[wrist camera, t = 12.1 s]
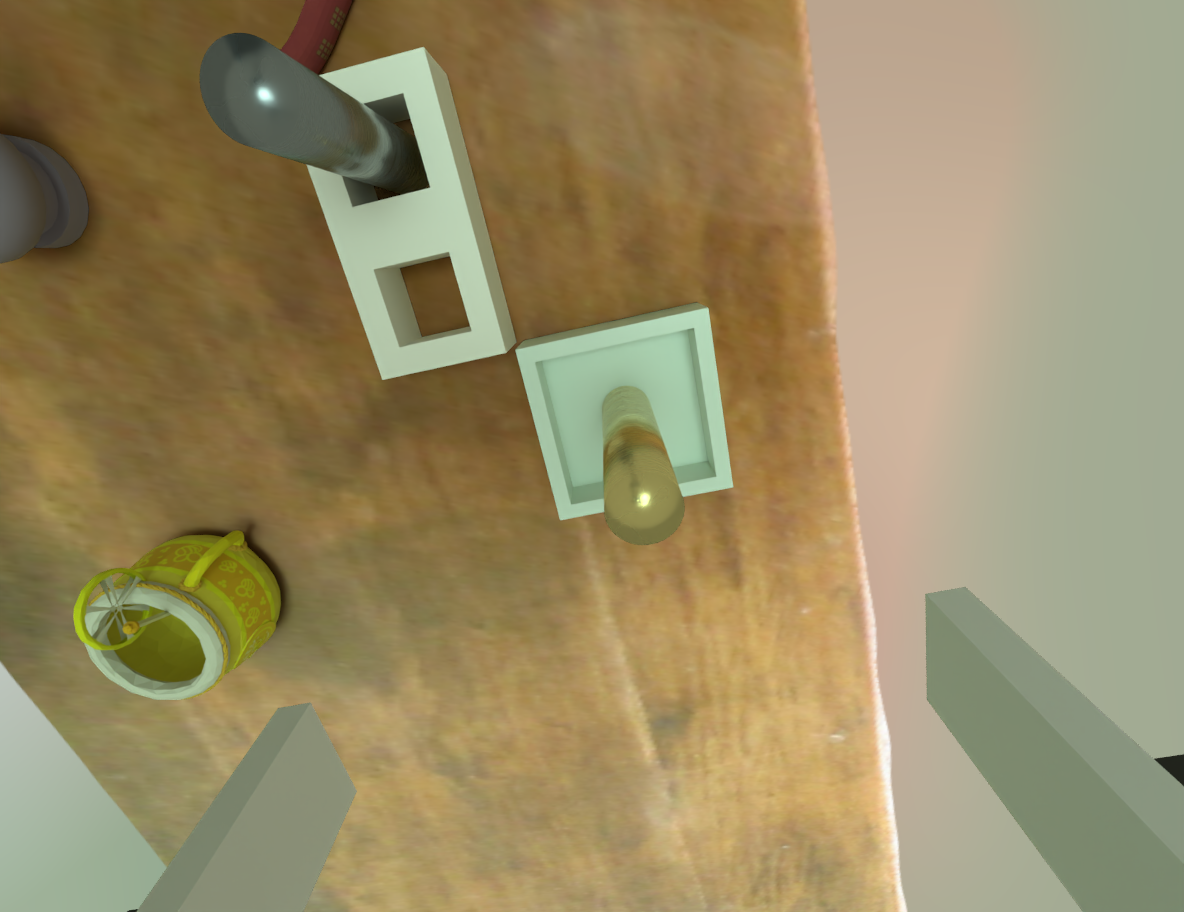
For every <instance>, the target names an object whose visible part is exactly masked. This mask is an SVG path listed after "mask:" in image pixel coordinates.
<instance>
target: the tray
mask: <svg viewBox="0 0 1184 912" xmlns="http://www.w3.org/2000/svg"><path fill="white" fill-rule="evenodd" d="M515 351H516V354H517V358H518V362H519V366H520V370H521V373H522V377H523V381H524V385H525V389H526V392H527V396H528V400H529V404H530V408H531V411H532V415H533V419H534V423H535V427H536V430H537V434H538V438H539V442H540V445H541V449H542V453H543V457H544V461H545V464H546V468H547V472H548V476H549V480H550V483H551V487H552V491H553V495H554V499H555V502H556V506H557V510H558V514H559V518H560V520H564V519H569V518H575V517H580V516H585V515H590V514H596V513H601V512H604V481H603V431H602V405H603V402H604V399H605V398H606V396H607V395H608V394H609V393H610V392H611V391H612V390H613V389H615V388H617V387H620V386H633V387H636V388H638V389H640V390H642V391H643V392H644V393H645V394H646V396H647V397H648V399H649V401H650V404H651V407H652V410H653V413H654V416H655V419H656V421H657V424H658V427H659V430H660V433H661V436H662V439H663V442H664V444H665V447H666V450H667V453H668V456H669V459H670V462H671V465H672V467H673V470H674V473H675V476H676V479H677V482H678V485H679V488H680V490H681V493H682V496H683V497H685V496H690V495H695V494H701V493H706V492H711V491H716V490H722V489H727V488H732V487H733V482H732V475H731V468H730V460H729V453H728V446H727V439H726V432H725V425H724V417H723V410H722V403H721V396H720V389H719V382H718V374H717V367H716V360H715V353H714V346H713V339H712V332H711V324H710V317H709V310H708V307H706V306H704V305H702V304H699V303H697V302H696V303H692V304H687V305H683V306H678V307H673V308H669V309H664V310H660V311H655V312H651V313H646V314H642V315H637V316H633V317H628V318H624V319H619V320H614V321H610V322H605V323H601V324H596V325H592V326H587V327H583V328H578V329H574V330H569V331H565V332H560V333H555V334H551V335H546V336H542V337H537V338H533V339H528V340H524V341H523V342H522V343H521V344H520V345H519V346H518V347H517V349H516V350H515Z"/></svg>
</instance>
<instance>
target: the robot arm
mask: <svg viewBox="0 0 1184 912" xmlns="http://www.w3.org/2000/svg"><path fill="white" fill-rule="evenodd" d="M925 595H926V665H927V666H926V668H927V669H926V670H927V700H928V702H929V703H930V704H931V705H932V707H933V708H934V710H935V711H936V712H937V714H938V715H939V716H940V718H941V719H942V721H943V722H944V723H945V725H946V726H947V728H948V729H949V730H950V732H951V733H952V734H953V736H954V737H955V738H956V740H957V741H958V742H959V744H960V745H961V746H962V748H963V749H964V751H965V752H966V753H967V755H968V756H969V757H970V759H971V760H972V762H973V763H974V764H975V766H976V767H977V768H978V770H979V771H980V772H981V774H982V775H983V777H984V778H985V779H986V780H987V782H988V783H989V785H990V786H991V787H992V789H993V790H994V791H995V793H996V794H997V796H998V797H999V798H1000V800H1001V801H1002V802H1003V804H1004V805H1005V806H1006V808H1007V809H1008V810H1009V812H1010V813H1011V815H1012V816H1013V817H1014V819H1015V820H1016V821H1017V823H1018V824H1019V825H1020V827H1021V828H1022V830H1023V831H1024V832H1025V834H1026V835H1027V836H1028V838H1029V839H1030V840H1031V842H1032V843H1033V844H1034V846H1035V847H1036V849H1037V850H1038V851H1039V853H1040V854H1041V855H1042V857H1043V858H1044V859H1045V861H1046V862H1047V864H1048V865H1049V866H1050V868H1051V869H1052V870H1053V872H1054V873H1055V874H1056V876H1057V877H1058V879H1059V880H1060V881H1061V883H1062V884H1063V885H1064V887H1065V888H1066V889H1067V891H1068V892H1069V894H1070V895H1071V896H1072V898H1073V899H1074V900H1075V902H1076V903H1077V904H1078V906H1079V907H1080V908H1081V910H1082V911H1083V912H1184V755H1177V756H1171V757H1164V758H1157V759H1153V758H1152V757H1151V756H1150V755H1149V754H1148V753H1147V752H1146V751H1144V750H1143V749H1142V748H1141V747H1140V746H1139V745H1138V744H1137V743H1136V742H1135V741H1134V740H1132V739H1131V738H1130V737H1129V736H1128V735H1127V734H1126V733H1125V732H1124V731H1122V730H1121V729H1120V728H1119V727H1118V726H1117V725H1116V724H1115V723H1114V722H1113V721H1112V720H1111V719H1109V718H1108V717H1107V716H1106V715H1105V714H1104V713H1103V712H1102V711H1101V710H1100V709H1098V708H1097V707H1096V706H1095V705H1094V704H1093V703H1092V702H1091V701H1090V700H1089V699H1088V698H1086V697H1085V696H1084V695H1083V694H1082V693H1081V692H1080V691H1079V690H1078V689H1077V688H1075V687H1074V686H1073V685H1072V684H1071V683H1070V682H1069V681H1068V680H1067V679H1065V677H1063V676H1062V675H1061V674H1060V673H1059V672H1058V671H1057V670H1056V669H1055V668H1053V667H1052V666H1051V665H1050V664H1049V663H1048V662H1047V661H1046V660H1045V659H1044V658H1042V656H1040V655H1039V654H1038V653H1037V652H1036V651H1035V650H1034V649H1033V648H1032V647H1030V646H1029V645H1028V644H1027V643H1026V642H1025V641H1024V640H1023V639H1022V638H1021V637H1020V636H1019V635H1017V634H1016V633H1015V632H1014V631H1013V630H1012V629H1011V628H1010V627H1009V626H1008V625H1006V624H1005V623H1004V622H1003V621H1002V620H1001V619H1000V618H999V617H998V616H996V614H994V613H993V612H992V611H991V610H990V609H989V608H988V607H987V606H986V605H985V604H983V603H982V602H981V601H980V600H979V599H978V598H977V597H976V596H975V595H974V594H973V593H971V592H970V591H969V590H968V589H967V588H966V587H962V588H957V589H951V590H945V591H940V592H934V593H928V594H925ZM356 792H357V790H356V788H355V787H354V785H353V783H352V781H351V779H350V777H349V775H348V773H347V771H346V769H345V767H344V766H343V764H342V762H341V760H340V758H339V756H338V754H337V752H336V750H335V748H334V746H333V744H332V743H331V741H330V739H329V737H328V735H327V733H326V731H325V729H324V727H323V725H322V723H321V722H320V720H319V718H318V716H317V714H316V712H315V710H314V708H313V706H312V704H311V703H305V704H300V705H294V706H288V707H283V708H278V709H277V711H276V712H275V714H274V715H273V717H272V718H271V719H270V721H269V722H268V724H267V725H266V727H265V728H264V729H263V731H262V732H261V734H260V735H259V737H258V738H257V739H256V741H255V742H254V744H253V745H252V747H251V748H250V750H249V751H248V752H247V754H246V755H245V757H244V758H243V760H242V761H241V762H240V764H239V765H238V767H237V768H236V770H235V771H234V772H233V774H232V775H231V777H230V778H229V780H228V781H227V783H226V784H225V785H224V787H223V788H222V790H221V791H220V793H219V794H218V795H217V797H216V798H215V800H214V801H213V803H212V804H211V805H210V807H209V808H208V810H207V811H206V813H205V814H204V816H203V817H202V818H201V820H200V821H199V823H198V824H197V826H196V827H195V828H194V830H193V831H192V833H191V834H190V836H189V837H188V838H187V840H186V841H185V843H184V844H183V846H182V847H181V849H180V850H179V851H178V853H177V854H176V856H175V857H174V859H173V860H172V861H171V863H170V864H169V866H168V867H167V869H166V870H165V871H164V873H163V875H162V876H161V877H160V879H159V880H158V882H157V883H156V885H155V886H154V887H153V889H152V890H151V892H150V893H149V894H148V896H147V897H146V899H145V900H144V902H143V903H142V905H141V906H140V907H139V909H136V910H129V911H127V912H303V911H304V909H305V906H306V904H307V902H308V900H309V897H310V895H311V893H312V891H313V888H314V886H315V884H316V882H317V879H318V877H319V875H320V873H321V870H322V868H323V866H324V864H325V861H326V859H327V857H328V855H329V852H330V850H331V848H332V846H333V843H334V841H335V839H336V837H337V834H338V832H339V830H340V828H341V825H342V823H343V821H344V819H345V816H346V814H347V812H348V810H349V807H350V805H351V803H352V801H353V798H354V796H355V794H356Z"/></svg>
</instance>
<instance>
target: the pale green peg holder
mask: <svg viewBox="0 0 1184 912" xmlns="http://www.w3.org/2000/svg"><path fill="white" fill-rule="evenodd" d="M319 76H321V77H322V78H324V79H325V80H327V81H328V82H330V83H331V84H333V85H335V86H336V87H338V88H339V89H341V90H342V91H344V92H345V93H347V94H349V95H350V96H352V97H353V98H355V99H356V100H358V101H359V102H361V103H362V104H364V105H366V106H367V107H369V108H370V109H372V110H373V111H375V112H376V113H378V114H379V115H381V116H383V117H384V118H386V119H387V120H389V121H390V122H392V123H396V122H400V121H403V120H407V119H411V122H412V125H413V129H414V132H415V136H416V139H417V143H418V146H419V150H420V153H421V157H422V160H423V164H424V167H425V171H426V174H427V178H428V181H429V185H430V188H427V189H423V190H419V191H415V192H411V193H407V194H403V195H399V196H395V197H391V198H387V199H383V200H379V201H378V198H377V195H376V192H375V189H374V186H373V185H370V184H367V183H364V182H361V181H358V180H354V179H351V178H348V177H345V176H342V175H338V174H335V173H332V172H329V171H326V170H323V169H319V168H316V167H313V166H310V165H307V167H308V170H309V173H310V176H311V179H312V181H313V184H314V187H315V190H316V193H317V196H318V198H319V201H320V204H321V207H322V210H323V213H324V215H325V218H326V221H327V224H328V227H329V230H330V232H331V235H332V238H333V241H334V244H335V247H336V249H337V252H338V255H339V258H340V261H341V264H342V266H343V269H344V272H345V275H346V278H347V281H348V283H349V286H350V289H351V292H352V295H353V298H354V300H355V303H356V306H357V309H358V312H359V315H360V317H361V320H362V323H363V326H364V329H365V332H366V334H367V337H368V340H369V343H370V346H371V349H372V351H373V354H374V357H375V360H376V363H377V366H378V368H379V371H380V374H381V377H382V380H385V379H389V378H394V377H399V376H403V375H408V374H412V373H417V372H421V371H426V370H431V369H435V368H440V367H444V366H449V365H453V364H458V363H462V362H467V361H472V360H476V359H481V358H485V357H490V356H494V355H499V354H504V353H507V352H508V351H509V350H510V348H511V347H512V346H513V345H514V344H515V343H516V342H517V341H516V338H515V334H514V330H513V326H512V322H511V318H510V315H509V311H508V307H507V303H506V299H505V295H504V292H503V288H502V284H501V280H500V276H499V273H498V269H497V265H496V261H495V257H494V253H493V250H492V246H491V242H490V238H489V234H488V230H487V227H486V223H485V219H484V215H483V211H482V207H481V204H480V200H479V196H478V192H477V188H476V185H475V181H474V177H473V173H472V169H471V165H470V162H469V158H468V154H467V150H466V146H465V142H464V139H463V135H462V131H461V127H460V123H459V119H458V116H457V112H456V108H455V104H454V100H453V97H452V93H451V89H450V85H449V81H448V77H447V74H446V73H445V72H444V71H443V69H442V68H441V67H440V66H439V65H438V63H437V62H436V61H435V60H434V59H433V57H432V56H431V55H430V54H429V53H428V51H427V50H426V49H425V48H424V47H422V48H418V49H414V50H411V51H407V52H403V53H400V54H396V55H392V56H388V57H385V58H381V59H377V60H374V61H370V62H366V63H363V64H359V65H355V66H352V67H348V68H344V69H341V70H337V71H333V72H330V73H326V74H322V75H319ZM448 256H450V258H451V261H452V265H453V268H454V272H455V275H456V279H457V282H458V286H459V289H460V293H461V296H462V299H463V303H464V306H465V310H466V313H467V317H468V320H469V324H470V326H469V327H465V328H460V329H456V330H451V331H447V332H442V333H438V334H433V335H429V336H425V337H422V336H421V333H420V330H419V326H418V323H417V320H416V317H415V314H414V311H413V308H412V305H411V301H410V298H409V295H408V292H407V289H406V286H405V283H404V279H403V276H402V273H401V270H400V268H402V267H406V266H410V265H415V264H419V263H423V262H427V261H432V260H436V259H440V258H444V257H448Z"/></svg>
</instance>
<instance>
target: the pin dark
mask: <svg viewBox="0 0 1184 912" xmlns="http://www.w3.org/2000/svg"><path fill="white" fill-rule="evenodd" d="M200 88H201V93H202V97H203V100H204V103H205V106H206V108H207V110H208V112H209V114H210V116H211V117H212V119H213V120H214V122H215V123H216V124H217V125H218V127H219V128H220V129H221V130H222V131H223V132H224V133H225V134H227V135H228V136H229V137H231V138H232V139H233V140H235V141H237V142H239V143H241V144H244V145H246V146H249V147H252V148H256V149H259V150H262V151H265V152H268V153H272V154H275V155H278V156H281V157H284V158H287V159H291V160H294V161H297V162H300V163H303V164H307V165H310V166H313V167H316V168H319V169H323V170H326V171H329V172H332V173H335V174H338V175H342V176H345V177H348V178H351V179H354V180H358V181H361V182H364V183H367V184H370V185H373V186H377V187H380V188H383V189H386V190H389V191H393V192H396V193H399V194H402V195H403V194H407V193H411V192H415V191H419V190H423V189H424V188H425V187H426V186H427V184H428V183H429V181H428V178H427V174H426V171H425V167H424V164H423V160H422V157H421V153H420V150H419V146H418V143H417V139H416V138H415V137H413V136H412V135H410V134H409V133H407V132H406V131H404V130H403V129H401V128H400V127H398V126H396V125H395V124H393V123H392V122H390V121H389V120H387V119H386V118H384V117H383V116H381V115H379V114H378V113H376V112H375V111H373V110H372V109H370V108H369V107H367V106H366V105H364V104H362V103H361V102H359V101H358V100H356V99H355V98H353V97H352V96H350V95H349V94H347V93H345V92H344V91H342V90H341V89H339V88H338V87H336V86H335V85H333V84H331V83H330V82H328V81H327V80H325V79H324V78H322V77H321V76H319V75H318V74H316V73H314V72H313V71H311V70H310V69H308V68H307V67H305V66H304V65H302V64H301V63H299V62H297V61H296V60H294V59H293V58H291V57H290V56H288V55H287V54H285V53H284V52H282V51H280V50H279V49H277V48H276V47H274V46H273V45H271V44H270V43H268V42H266V41H265V40H263V39H261V38H259V37H257V36H254V35H251V34H246V33H233V34H228V35H225V36H223V37H221V38H219V39H218V40H216V41H215V42H214V43H213V44H212V45H211V46H210V47H209V49H208V50H207V52H206V54H205V56H204V58H203V61H202V64H201V69H200Z"/></svg>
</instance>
